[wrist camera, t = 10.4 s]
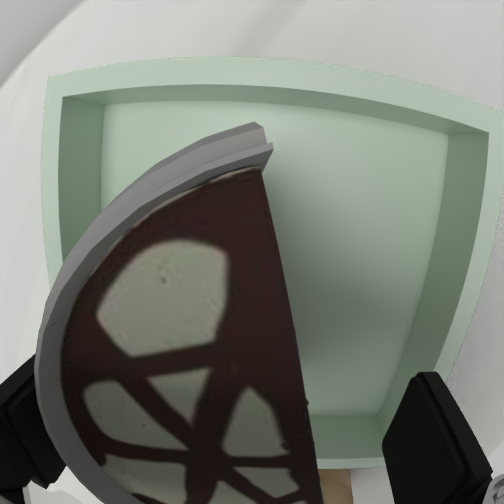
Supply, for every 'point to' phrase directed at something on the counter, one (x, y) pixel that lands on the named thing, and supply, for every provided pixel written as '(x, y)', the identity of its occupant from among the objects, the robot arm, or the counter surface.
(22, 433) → the robot arm
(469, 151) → the bin
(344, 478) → the salt cellar
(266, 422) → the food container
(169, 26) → the counter surface
